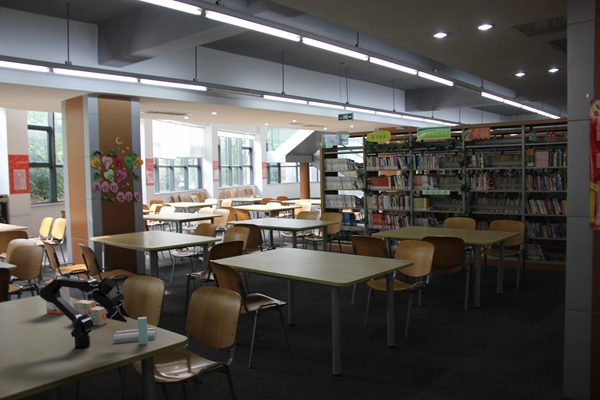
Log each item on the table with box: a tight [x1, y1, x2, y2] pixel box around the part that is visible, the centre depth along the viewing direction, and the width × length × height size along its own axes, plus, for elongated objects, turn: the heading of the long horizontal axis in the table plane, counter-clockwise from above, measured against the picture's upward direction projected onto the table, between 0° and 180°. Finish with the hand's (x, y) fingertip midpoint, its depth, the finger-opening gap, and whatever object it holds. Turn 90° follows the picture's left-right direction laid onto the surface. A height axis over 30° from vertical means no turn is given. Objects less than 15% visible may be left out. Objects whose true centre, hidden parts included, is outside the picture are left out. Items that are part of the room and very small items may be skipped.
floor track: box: [113, 327, 157, 345], centre depth 258 cm, size 20×12×4 cm, turn 102°
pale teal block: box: [137, 316, 149, 345], centre depth 249 cm, size 5×3×13 cm, turn 102°
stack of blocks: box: [73, 299, 109, 327], centre depth 291 cm, size 21×6×12 cm, turn 62°
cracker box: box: [44, 279, 71, 315], centre depth 315 cm, size 14×6×21 cm, turn 73°
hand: (127, 319), depth 247 cm, fingers open, 9 cm apart
